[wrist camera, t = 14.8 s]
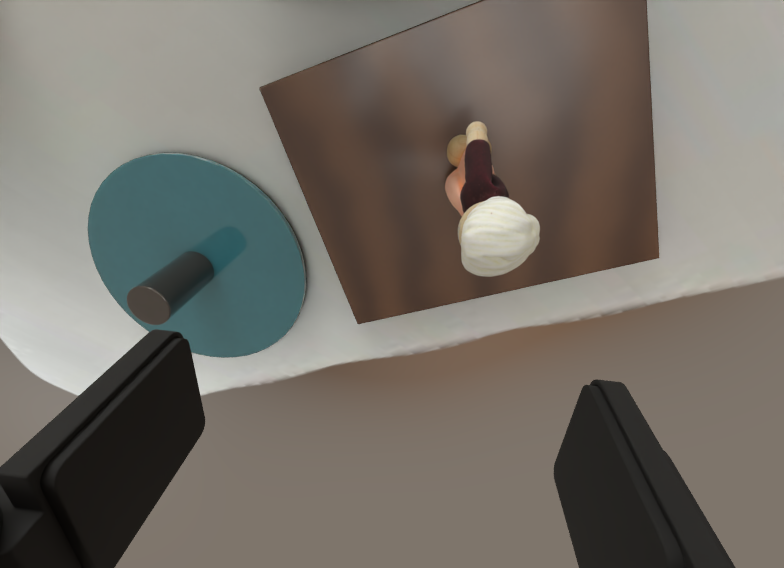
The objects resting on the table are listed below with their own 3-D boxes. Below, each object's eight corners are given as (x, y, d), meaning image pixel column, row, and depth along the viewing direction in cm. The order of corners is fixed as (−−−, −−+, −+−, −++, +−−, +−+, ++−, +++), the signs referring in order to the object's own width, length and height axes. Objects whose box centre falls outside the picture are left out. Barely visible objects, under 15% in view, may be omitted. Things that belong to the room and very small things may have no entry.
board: (361, 314, 34) (357, 324, 33) (267, 86, 27) (258, 87, 26) (649, 249, 29) (659, 258, 28) (631, -56, 22) (644, -64, 20)
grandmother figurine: (422, 134, 26) (406, 183, 14) (481, 105, 25) (512, 134, 13) (467, 239, 29) (483, 348, 17) (522, 218, 27) (576, 319, 16)
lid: (340, 328, 35) (318, 384, 29) (172, 365, 39) (120, 421, 33) (247, 117, 28) (190, 130, 22) (53, 190, 32) (-42, 219, 26)
